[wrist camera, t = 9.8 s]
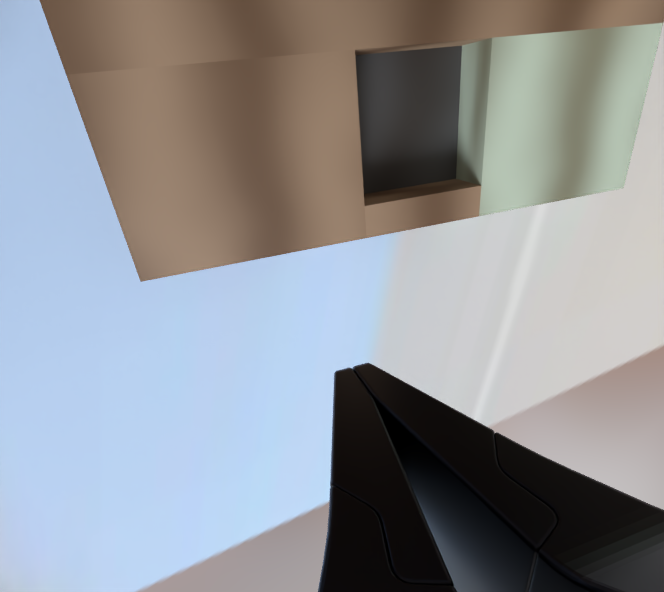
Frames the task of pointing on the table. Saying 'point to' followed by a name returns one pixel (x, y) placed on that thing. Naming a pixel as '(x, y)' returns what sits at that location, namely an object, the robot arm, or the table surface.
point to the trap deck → (346, 114)
